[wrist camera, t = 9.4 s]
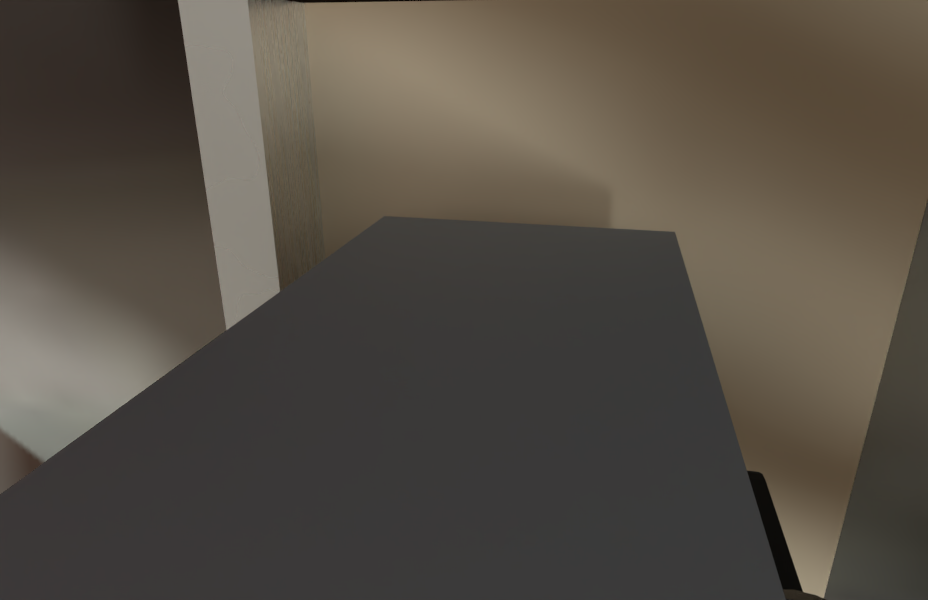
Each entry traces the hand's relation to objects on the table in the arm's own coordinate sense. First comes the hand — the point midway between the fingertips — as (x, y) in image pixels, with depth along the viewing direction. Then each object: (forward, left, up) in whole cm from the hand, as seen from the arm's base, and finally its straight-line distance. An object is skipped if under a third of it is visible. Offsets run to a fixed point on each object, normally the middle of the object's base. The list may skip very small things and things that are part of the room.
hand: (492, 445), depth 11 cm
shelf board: (-1, -1, -4) cm, 4 cm away
